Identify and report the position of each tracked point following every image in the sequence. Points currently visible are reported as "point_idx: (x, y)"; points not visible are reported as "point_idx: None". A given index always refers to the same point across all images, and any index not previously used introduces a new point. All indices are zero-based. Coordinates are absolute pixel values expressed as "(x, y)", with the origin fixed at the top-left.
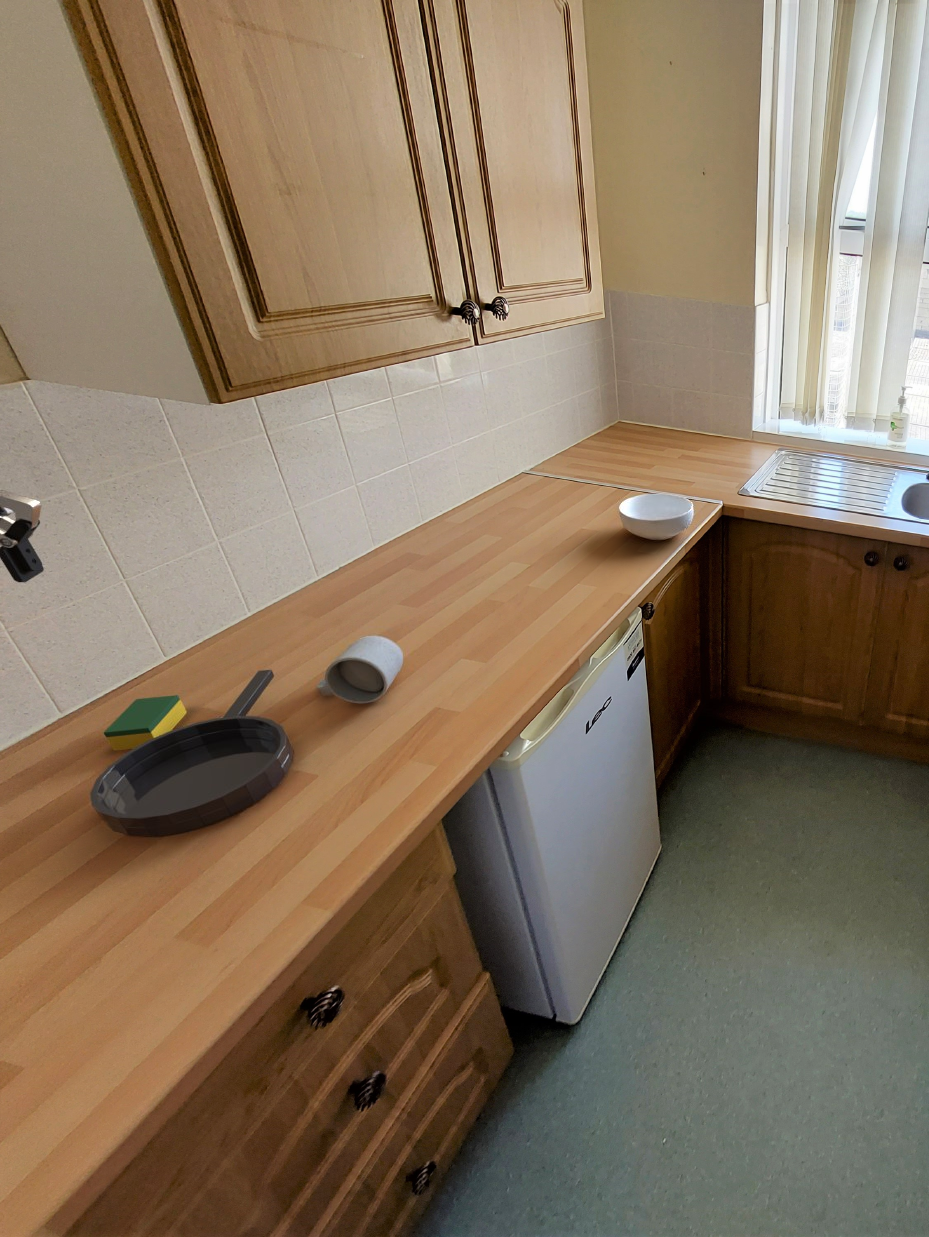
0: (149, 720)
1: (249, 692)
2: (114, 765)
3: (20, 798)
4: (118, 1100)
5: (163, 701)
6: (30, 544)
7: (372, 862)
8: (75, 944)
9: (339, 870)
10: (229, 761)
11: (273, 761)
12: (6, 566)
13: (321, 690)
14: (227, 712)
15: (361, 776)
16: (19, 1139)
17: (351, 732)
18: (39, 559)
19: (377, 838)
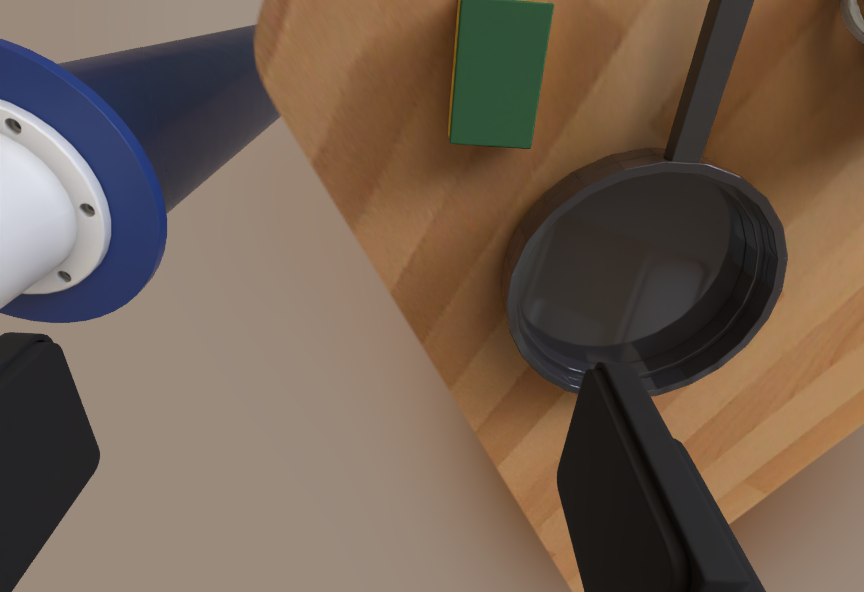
0: (524, 118)
1: (724, 57)
2: (520, 274)
3: (362, 234)
4: None
5: (530, 32)
6: (754, 579)
7: (818, 454)
8: (548, 475)
9: (783, 455)
10: (659, 236)
11: (761, 326)
12: (580, 563)
13: (857, 34)
14: (681, 142)
15: (843, 312)
16: (572, 587)
17: (857, 185)
18: (691, 465)
19: (832, 425)
